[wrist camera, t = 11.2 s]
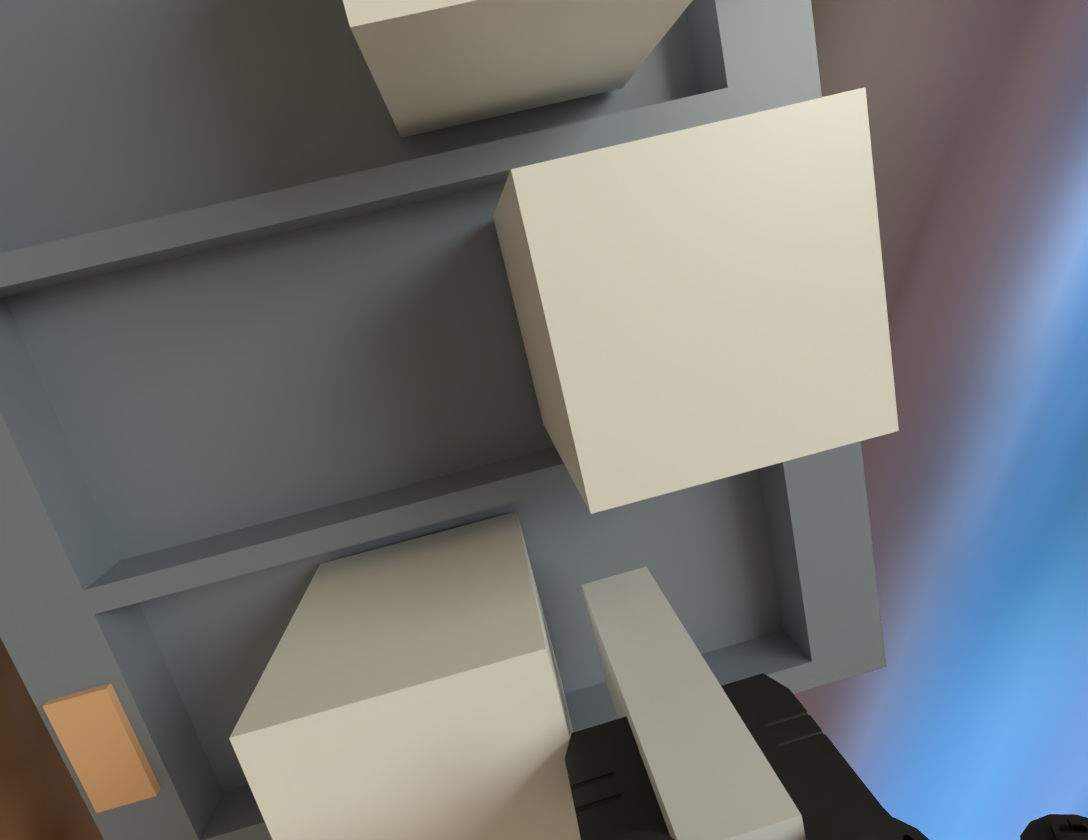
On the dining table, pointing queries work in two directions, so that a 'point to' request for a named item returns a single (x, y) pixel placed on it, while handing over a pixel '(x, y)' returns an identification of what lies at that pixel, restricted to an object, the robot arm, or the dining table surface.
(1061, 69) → the dining table surface
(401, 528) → the switch board
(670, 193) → the tab
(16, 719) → the dining table surface
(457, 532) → the tab
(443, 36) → the tab
